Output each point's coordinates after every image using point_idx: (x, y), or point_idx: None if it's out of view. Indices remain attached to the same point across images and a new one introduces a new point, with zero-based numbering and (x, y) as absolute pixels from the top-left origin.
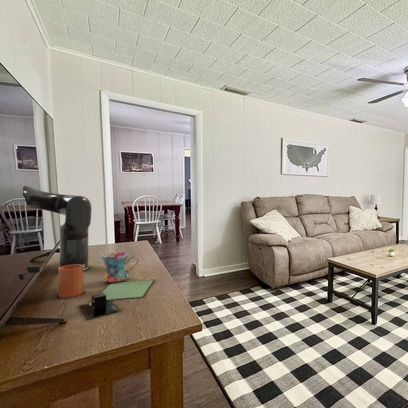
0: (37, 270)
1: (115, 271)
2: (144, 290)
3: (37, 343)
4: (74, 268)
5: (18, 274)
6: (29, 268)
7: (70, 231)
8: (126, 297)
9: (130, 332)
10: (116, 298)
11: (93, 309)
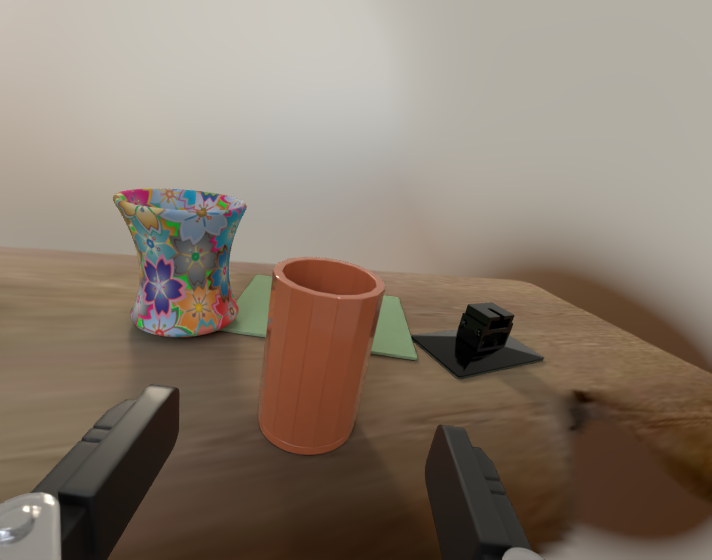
0: (173, 429)
1: (227, 273)
2: None
3: (699, 418)
4: (372, 272)
5: (472, 452)
6: (127, 467)
7: None
8: (401, 312)
9: (577, 321)
10: (406, 324)
11: (503, 348)
